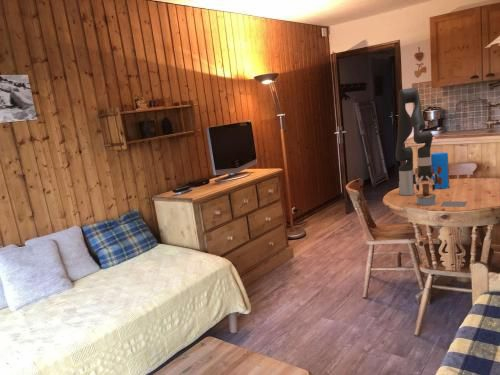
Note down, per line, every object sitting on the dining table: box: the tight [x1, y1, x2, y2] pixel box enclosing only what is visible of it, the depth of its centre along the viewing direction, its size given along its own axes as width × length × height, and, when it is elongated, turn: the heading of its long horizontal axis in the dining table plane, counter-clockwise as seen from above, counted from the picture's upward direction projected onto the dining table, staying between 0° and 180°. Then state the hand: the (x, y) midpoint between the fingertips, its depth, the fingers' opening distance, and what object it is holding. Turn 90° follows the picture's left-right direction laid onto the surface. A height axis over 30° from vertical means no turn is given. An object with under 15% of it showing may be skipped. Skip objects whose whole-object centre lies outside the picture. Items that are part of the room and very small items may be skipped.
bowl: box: [416, 196, 437, 207], centre depth 237 cm, size 10×10×5 cm
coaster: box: [439, 200, 468, 208], centre depth 229 cm, size 13×13×1 cm
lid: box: [415, 183, 437, 199], centre depth 236 cm, size 11×11×8 cm
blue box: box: [430, 152, 450, 190], centre depth 276 cm, size 11×11×25 cm
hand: (425, 190), depth 236 cm, fingers open, 8 cm apart
